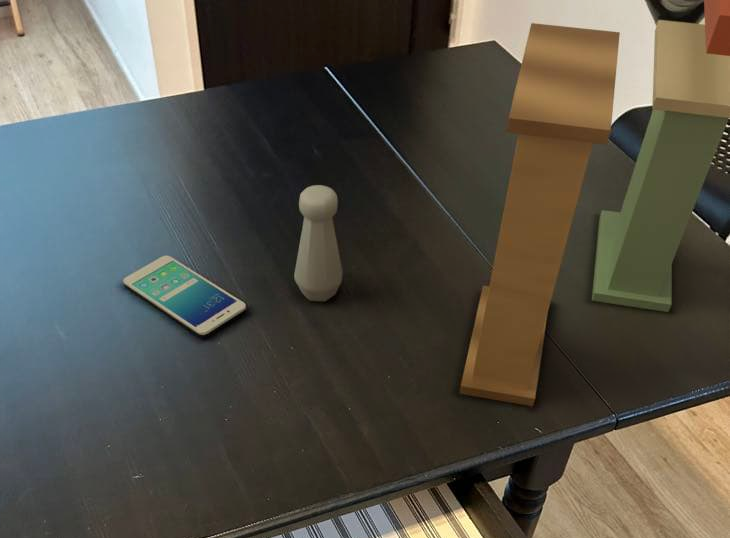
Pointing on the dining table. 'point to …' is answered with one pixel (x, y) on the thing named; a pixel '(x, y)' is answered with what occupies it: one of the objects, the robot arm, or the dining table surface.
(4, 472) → the dining table surface
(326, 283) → the salt shaker
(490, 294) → the tall wooden pedestal
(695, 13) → the robot arm
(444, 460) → the dining table surface
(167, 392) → the dining table surface
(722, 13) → the bar
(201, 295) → the smartphone
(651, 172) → the green pedestal column
